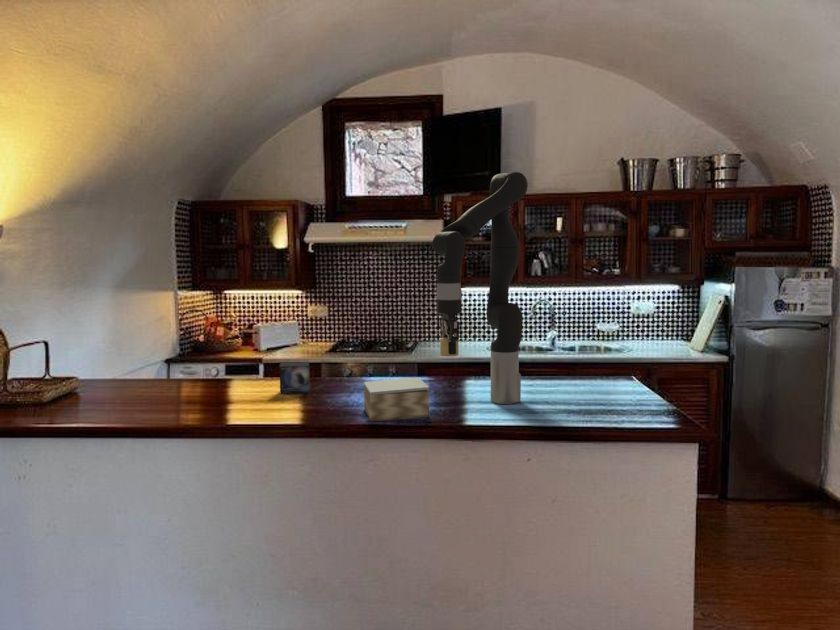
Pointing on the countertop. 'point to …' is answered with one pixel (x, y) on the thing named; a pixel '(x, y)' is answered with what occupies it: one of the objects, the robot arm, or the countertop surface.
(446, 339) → the tan rounded piece
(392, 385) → the lid
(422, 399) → the crate
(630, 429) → the countertop surface
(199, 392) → the countertop surface
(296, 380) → the small box
